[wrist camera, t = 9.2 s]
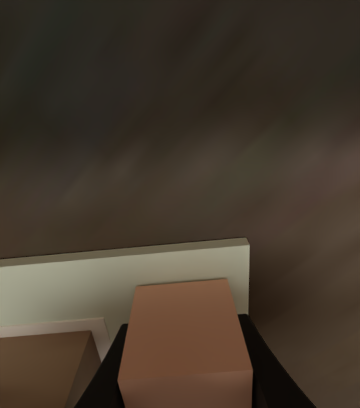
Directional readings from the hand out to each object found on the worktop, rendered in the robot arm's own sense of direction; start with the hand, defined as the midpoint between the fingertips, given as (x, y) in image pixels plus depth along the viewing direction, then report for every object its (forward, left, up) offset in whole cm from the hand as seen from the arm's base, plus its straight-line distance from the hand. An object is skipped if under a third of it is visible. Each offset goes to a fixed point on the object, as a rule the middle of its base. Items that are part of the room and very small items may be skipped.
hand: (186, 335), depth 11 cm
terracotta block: (0, 0, -1) cm, 1 cm away
